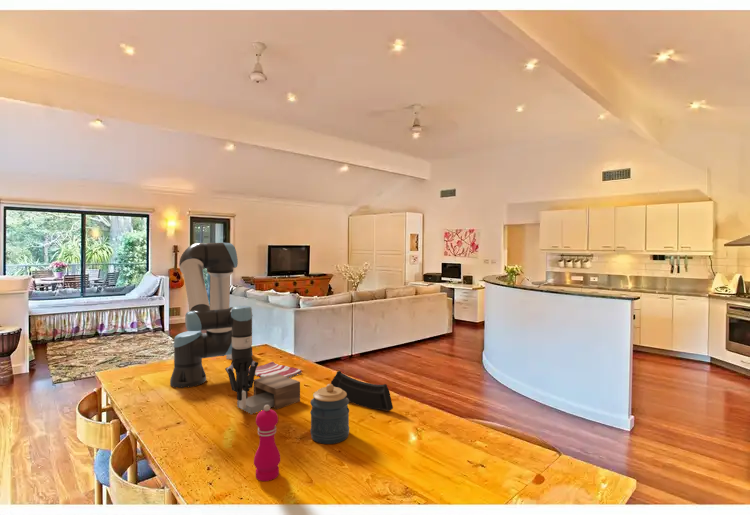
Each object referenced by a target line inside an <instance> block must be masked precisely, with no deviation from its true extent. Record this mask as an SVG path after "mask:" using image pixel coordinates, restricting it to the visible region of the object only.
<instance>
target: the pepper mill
mask: <svg viewBox="0 0 750 515" xmlns="http://www.w3.org/2000/svg"><path fill="white" fill-rule="evenodd" d="M257 413H258V414H257V415H256V417H255V425H256V427H257V435H258V436H259V444H258V448H257V449H256V451H255V454H254V458H253V465H254V467H255V468H256V469H255V478H256V479H257V480H258V481H260V482H269V480H270V481H272V479H273V480H275V479H276V478H277V477H278V476H279V474H280V472H279V471H280V469H279V468H280V467H279V465H280V463H281V453H280V450H279V448H278V447H277V444H276V442H275V434H276V433H277V426H276V425H277V424H278V422H279V416H278V413H277V412H276V411H275V409H272V408H270V406H269V405H265V406H264V410H262V411H260V412H257Z"/></svg>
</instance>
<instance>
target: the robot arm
mask: <svg viewBox="0 0 750 515" xmlns="http://www.w3.org/2000/svg"><path fill="white" fill-rule="evenodd" d="M238 263H239V262H238V254H237V250H236V248H235V245H234V244H233V243H231V242H197V243H193V244H191V245H190V246H188V247H187V248H185V250H184V251H183V252H182V254H181V256H180V257H179V264H178V266H179V271H180V273H182V274H183V279H184V280H183V281H184V285H185V291H186V297H187V304H188V309H189V310H188V311H187V312H186V313H185V314H184V315H185V316H184V322H185V328H186V329H185V330H186V331H183V332H180V333H178V334H177V335H175V336H174V339H173V340H174V341H173V350H174V351H173V361H174V362H173V364H174V365H173V366H174V367H173V370H172V374H171V377H170V379H169V380H170V382H169V384H170V385H169V386H171V387H172V388H176V387H178V389H185V388H184V387H187V388H193V386H194V387H197V385H198V386H200V384H201V385H203V384H205V383H206V382H205V381H207V375H206V372H205V369H204V367H203V361H202V360H203V359H208V358H215V357H216V358H217V357H224V356H225V357H226V356H227V355H230V354H232V359H231V362H230V363H231V364H230V365H229V366H228V367H225V368H224V369H225V370H224V371H225V372H226V373H227V376H228V380H229V383H230V387H231V390H232V391H233V392H235V393H236V399H237V400H236V401H238V400H239V408H241V409H245V408H246V399H247V398H248V397H249V395H248V394H249V391H250V389H252V388H253V387H254V380H255V377H256V376H255V371H256V368H257V366H259V362H257V361H255V360H254V358H253V355H252V354H253V317H254V316H253V309H252V306H249V305H235V306H231V307H230V300H231V299H230V297H231V295H230V292H231V290H230V288H231V276H232V274H233V273H234V269H235V268H238ZM204 269H205V270H206V273H207V274H208V275H209V277H210V280H209V282H210V284H209V285H210V286H209V292H210V294H209V295H208V292H207V288H206V283H205V277H204V273H203V272H204V271H203V270H204ZM202 331H206V332H202ZM249 368H250V370H249ZM234 371H235V373H234ZM204 382H205V383H204ZM202 383H203V384H202ZM239 408H238V409H239ZM241 409H240V410H241Z"/></svg>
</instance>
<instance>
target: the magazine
mask: <svg viewBox="0 0 750 515" xmlns="http://www.w3.org/2000/svg"><path fill="white" fill-rule="evenodd" d="M330 384H332V385H333V386H334V387H338V388H341V389H342V390H344V391H345V392H346V393H347V396H346V397H347V398H348V399H349V403H351V404H354V405H357V406H360V407H364V408H367V409H375V410H380V411H382V410H383V411H387V412H389V411H392V410H393V408H394V406H393V402H392V398H391V393H390V389H389V387H388V384H387V383H384V384H377V383H369V382H365V381H361V380H358V379H356V378H352V377H350V376H349V375H346V374H345V373H342V371H341V370H338V371H337V372H336V374H335V376H334V377H333V378H332V380H331V381H330Z"/></svg>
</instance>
